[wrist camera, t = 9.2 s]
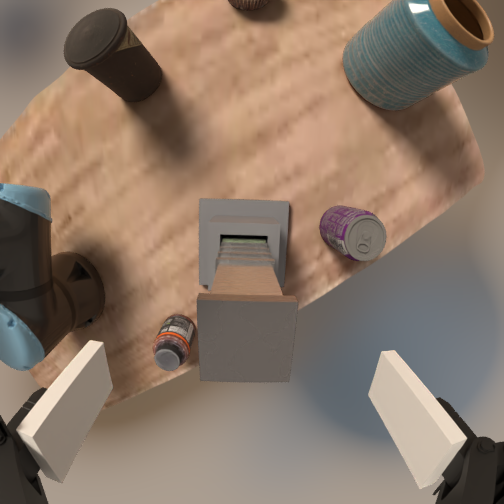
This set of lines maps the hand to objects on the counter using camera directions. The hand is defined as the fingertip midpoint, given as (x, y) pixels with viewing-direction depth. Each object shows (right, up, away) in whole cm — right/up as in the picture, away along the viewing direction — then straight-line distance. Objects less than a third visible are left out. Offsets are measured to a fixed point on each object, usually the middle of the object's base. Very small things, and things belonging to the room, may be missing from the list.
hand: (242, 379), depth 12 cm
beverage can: (+15, +10, +36) cm, 40 cm away
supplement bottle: (-13, -8, +39) cm, 42 cm away
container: (-19, +35, +29) cm, 50 cm away
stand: (-1, +7, +36) cm, 37 cm away
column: (-1, +5, +27) cm, 27 cm away
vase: (+24, +39, +30) cm, 55 cm away
